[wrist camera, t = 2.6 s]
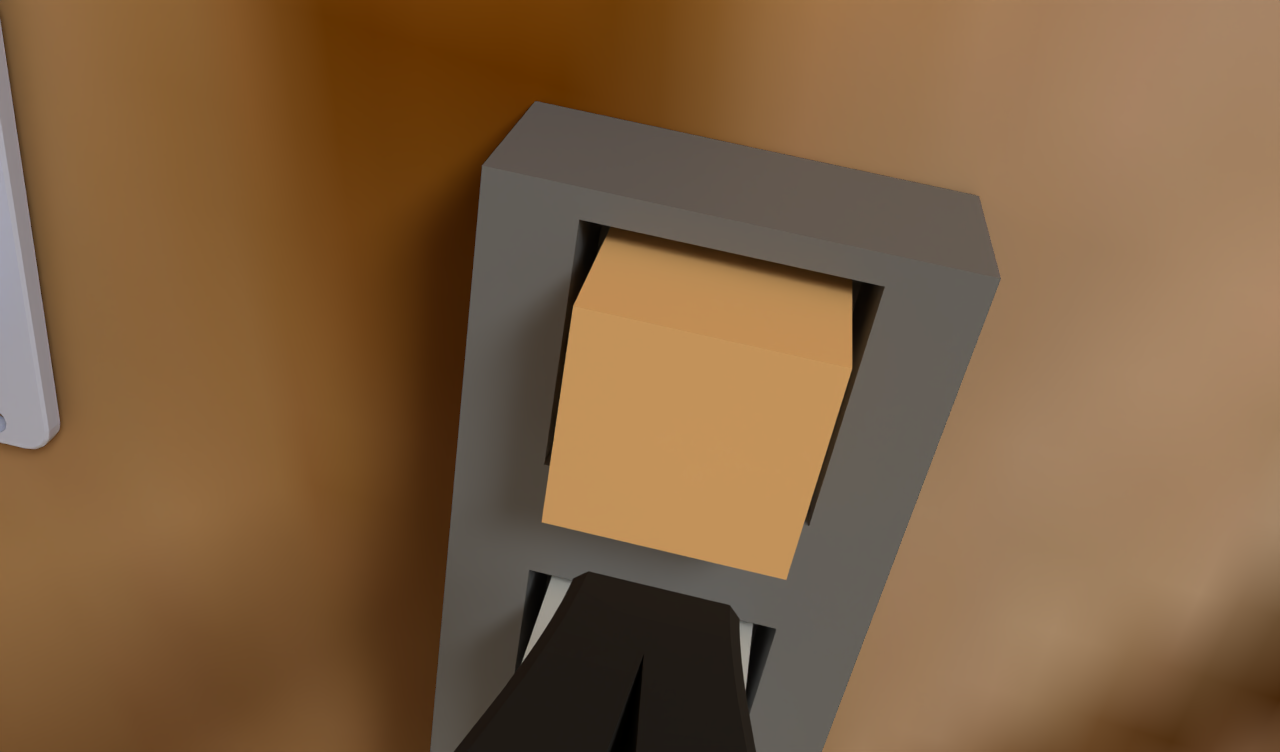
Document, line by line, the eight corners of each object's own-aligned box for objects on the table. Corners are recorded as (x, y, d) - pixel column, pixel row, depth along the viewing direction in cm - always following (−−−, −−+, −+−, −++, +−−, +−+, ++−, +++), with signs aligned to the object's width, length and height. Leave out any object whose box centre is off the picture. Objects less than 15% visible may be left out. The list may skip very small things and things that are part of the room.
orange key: (583, 414, 15) (541, 522, 13) (614, 218, 14) (572, 306, 12) (795, 464, 15) (786, 579, 13) (852, 270, 13) (852, 368, 11)
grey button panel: (455, 814, 23) (414, 926, 21) (535, 100, 15) (482, 165, 13) (736, 886, 23) (724, 1007, 20) (979, 195, 14) (1000, 278, 12)
